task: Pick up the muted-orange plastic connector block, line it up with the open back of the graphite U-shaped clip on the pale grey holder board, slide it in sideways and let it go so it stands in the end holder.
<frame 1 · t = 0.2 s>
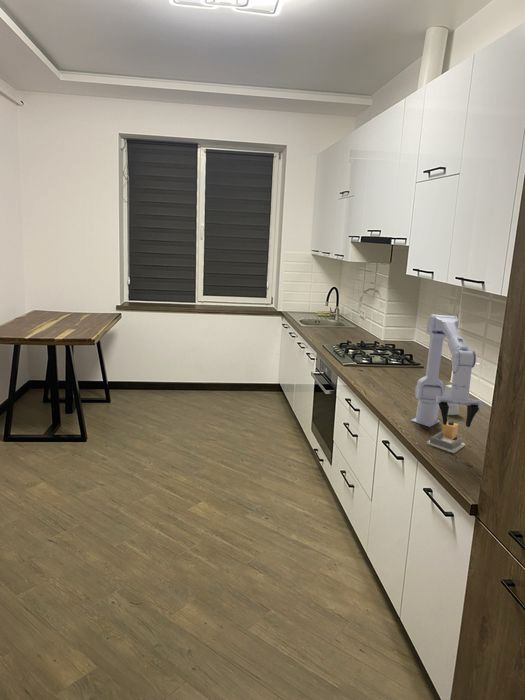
hand: (456, 425, 174), 10 cm above the countertop, tool pointing down, fingers open, 7 cm apart
connector: (448, 437, 192), on the countertop
skincare box: (449, 413, 219), on the countertop
end holder: (445, 444, 184), on the countertop
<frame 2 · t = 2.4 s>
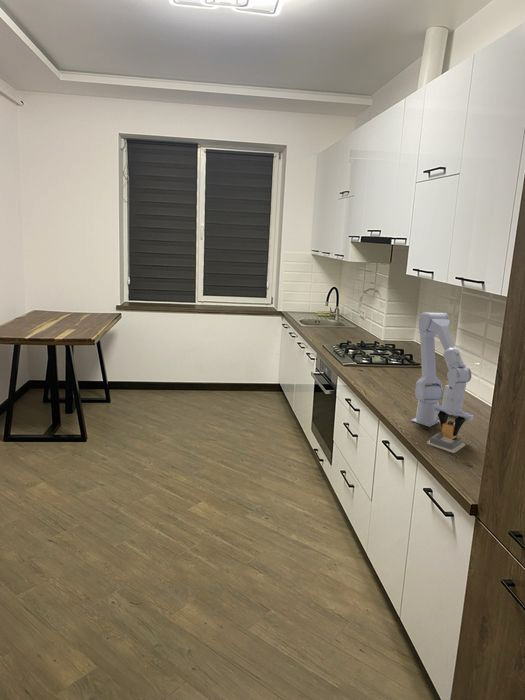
hand: (449, 433, 191), 1 cm above the countertop, tool pointing down, fingers closed on connector, 4 cm apart
connector: (448, 436, 192), on the countertop, touching gripper
everything else where it was.
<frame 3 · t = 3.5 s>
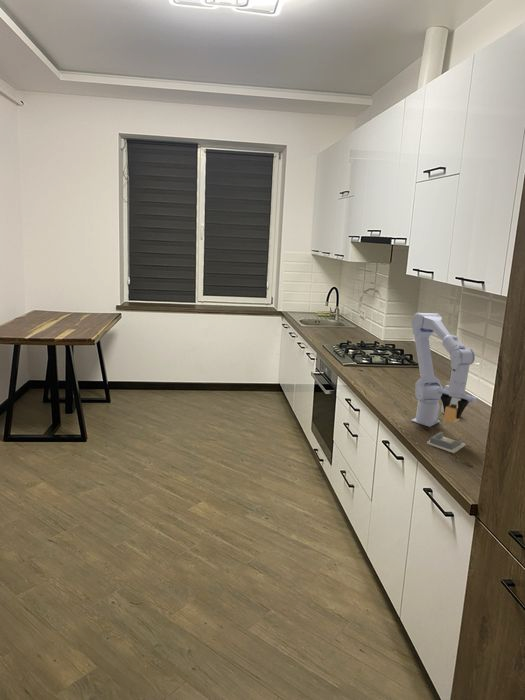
hand: (452, 416, 190), 8 cm above the countertop, tool pointing down, fingers closed on connector, 4 cm apart
connector: (451, 420, 190), point 7 cm above the countertop, touching gripper
everything else where it was.
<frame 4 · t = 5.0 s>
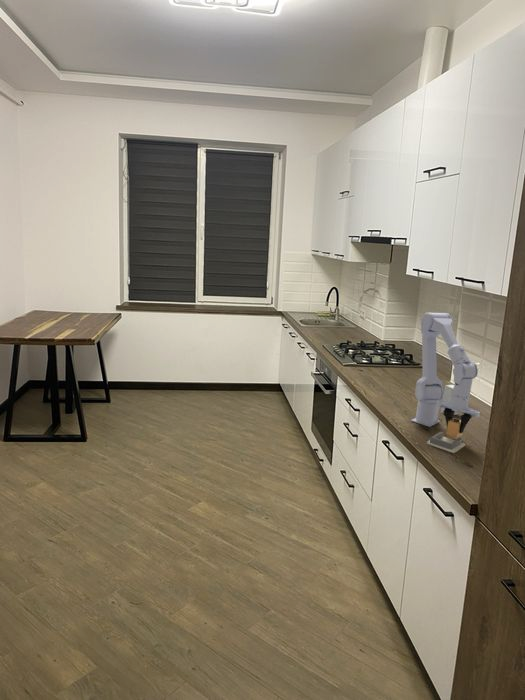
hand: (454, 430, 188), 4 cm above the countertop, tool pointing down, fingers closed on connector, 4 cm apart
connector: (454, 434, 188), point 2 cm above the countertop, touching gripper
everything else where it was.
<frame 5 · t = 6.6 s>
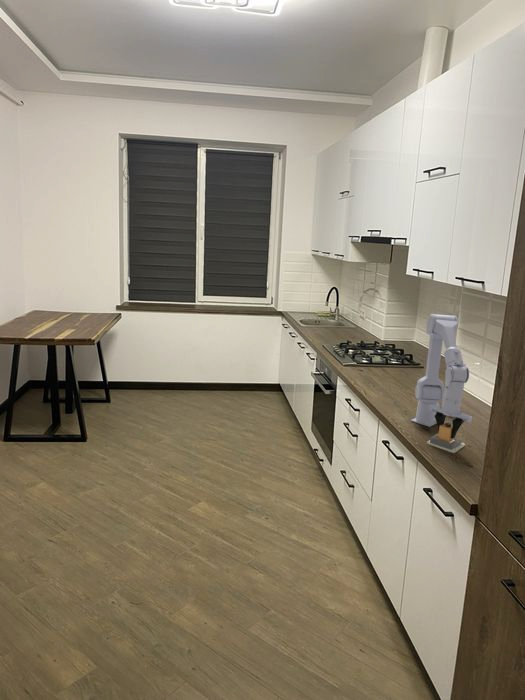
hand: (446, 435, 182), 4 cm above the countertop, tool pointing down, fingers closed on connector, 4 cm apart
connector: (445, 439, 183), point 2 cm above the countertop, touching gripper
everything else where it was.
when the fingers open (4 cm above the countertop, at t = 7.7 s): connector drops 2 cm, resting on end holder.
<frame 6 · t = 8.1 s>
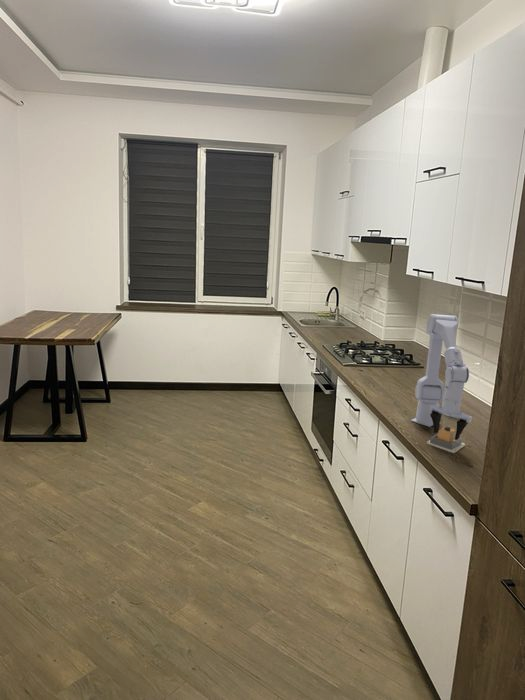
hand: (446, 435, 182), 4 cm above the countertop, tool pointing down, fingers open, 7 cm apart
connector: (444, 443, 183), point 1 cm above the countertop, touching end holder
everything else where it was.
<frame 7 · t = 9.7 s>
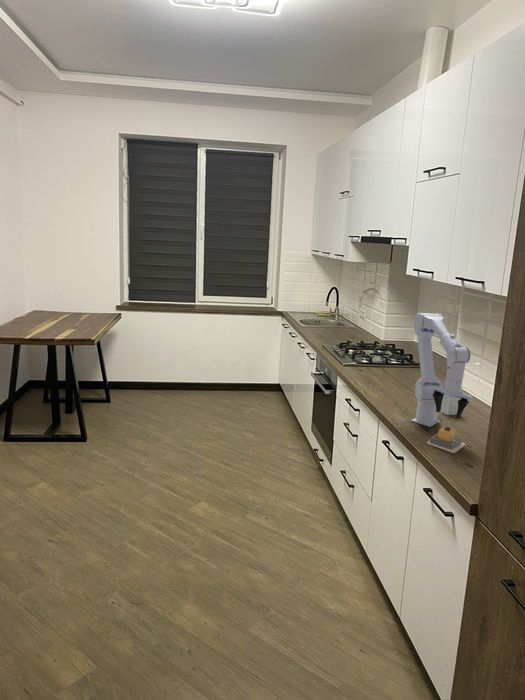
hand: (448, 414, 189), 9 cm above the countertop, tool pointing down, fingers open, 7 cm apart
nothing on the countertop moved.
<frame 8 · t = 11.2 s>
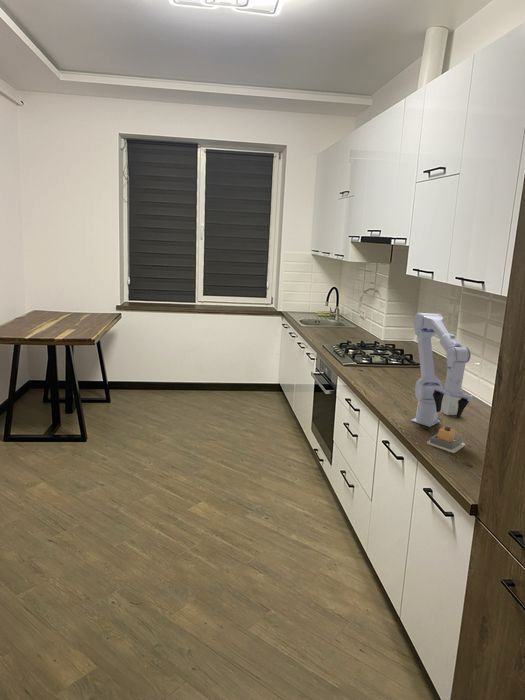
hand: (448, 414, 189), 9 cm above the countertop, tool pointing down, fingers open, 7 cm apart
nothing on the countertop moved.
at the end: connector 0.0 cm from the target spot on the end holder, point 0.8 cm above the end holder's base; connector tilted 0°; the gripper is holding nothing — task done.
